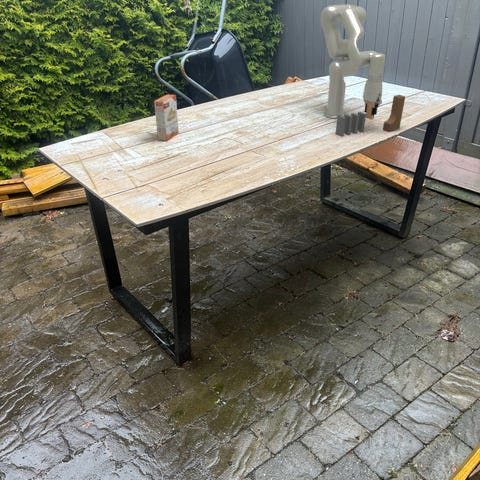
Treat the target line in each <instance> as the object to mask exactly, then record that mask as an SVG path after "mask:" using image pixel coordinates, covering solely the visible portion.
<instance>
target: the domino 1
mask: <svg viewBox="0 0 480 480" xmlns="http://www.w3.org/2000/svg"><path fill="white" fill-rule="evenodd" d="M345 119H346V118H345V117H343V116H341V115H337V118H336V128H335V134H336V135H337V136H339V137H344V135H345V133H344V128H345Z"/></svg>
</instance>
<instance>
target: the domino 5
mask: <svg viewBox="0 0 480 480" xmlns="http://www.w3.org/2000/svg"><path fill="white" fill-rule="evenodd" d="M375 105H376V103H375ZM372 108H373V102H370V101H368V102H367V110H366V113H365V114H366V119H369V120H370V121H372V120H373V121H374V120H375V115H371V112H372Z"/></svg>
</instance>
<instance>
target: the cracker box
mask: <svg viewBox="0 0 480 480" xmlns="http://www.w3.org/2000/svg"><path fill="white" fill-rule="evenodd" d="M153 105H154V115H155V123H156V124H155V125H156V133H157V140H158V141H162V142H164V141H165V142H168V141H169V140H171V139H172V138H173V137H175V136H177V135H178V134H179V120H178V119H179V118H178V107H177V95H176V94H165V95H163V96H161V97H159V98H158V99H156V100H154V101H153Z"/></svg>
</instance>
